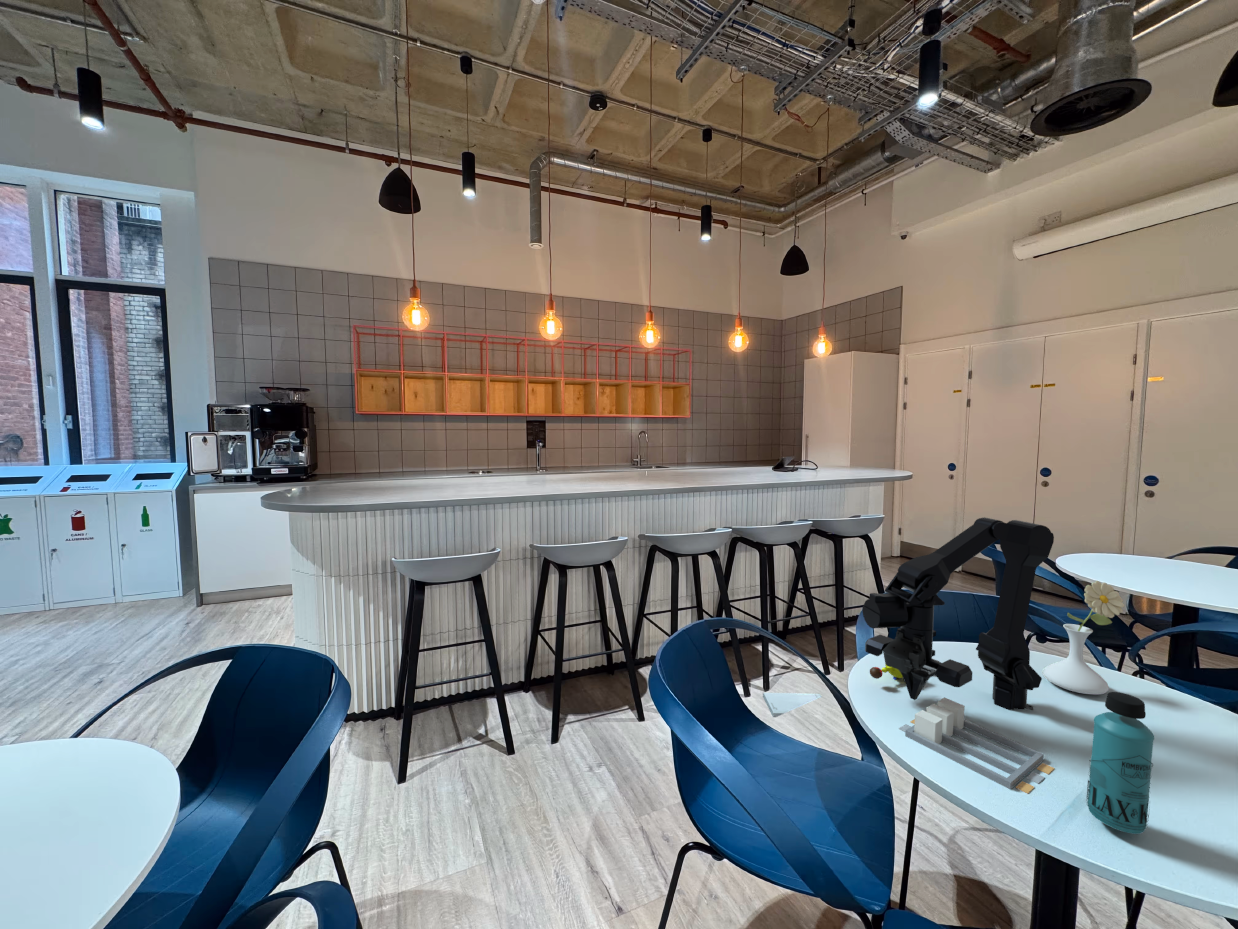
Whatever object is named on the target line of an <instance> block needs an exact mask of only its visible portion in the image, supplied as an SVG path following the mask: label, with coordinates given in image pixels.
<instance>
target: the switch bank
mask: <svg viewBox="0 0 1238 929" xmlns="http://www.w3.org/2000/svg"><path fill="white" fill-rule="evenodd" d="M909 723H911V724H913V725H912V726H911V725H909V724H906V723H905V724H904V725H902V726H900V727H898V730H899V731H901V732H904V734H905V737H906V738H908V739H910V740H912V741H913V742H915V743H918V744H920V745H922V746H924V747H926V748H928V749H930V750H932V751H933V752H936V753H937V754H939V755H941V756H943V757H945V758H947V759H950V760H952V761H954V762H955V763H957V764H960V765H961V766H963V767H965V768H967V769H969V770H971V771H973V772H975V773H976V774H979V775H981V776H983V777H984V778H987V779H988V780H991V781H993V782H995V783H997V784H998V785H1001V786H1003V787H1005V788H1006V789H1008V790H1011V789H1014V787H1015V789H1017V790H1019V791H1021V792H1023V793H1025V794H1030V793H1031V792H1032V791H1033V790H1034V789H1035V786H1034V785H1032V784H1030V783H1028V782H1025V781H1024V780H1023V779H1024V778H1025V777H1026V779H1027V780H1029V781H1031V782H1033V783H1036V784H1038V785H1039V784H1041V782H1043V780H1044V779H1045V776H1043V775H1040V774H1039V773H1036V772H1034V771H1033V770H1034V769H1036V770H1038V771H1040V772H1042V773H1044V774H1046V775H1049V774H1051V773H1052V772H1053V771H1054V770H1055V767H1053V766H1051V765H1049V764H1047V763H1045V762H1044V757H1045V756H1044V753H1043V752H1040V751H1037V750H1036V749H1033V748H1031V747H1029V746H1026V745H1024V744H1022V743H1019V742H1017V741H1016V740H1012V739H1011V738H1008V737H1006V736H1004V735H1002V734H999V733H997V732H995V731H992V730H990V729H988V728H985V727H983V726H981V725H978V724H976V723H974V722H971V721H970V720H967V719H965V718H964V728H965V729H967V730H970V731H972V732H974V733H976V734H979V735H981V736H983V737H986V738H987V739H990V740H992V741H994V742H996V743H998V744H1001V745H1003V746H1006V747H1008V748H1009V749H1012V750H1014V751H1017V752H1019V753H1021V754H1023V755H1024V756H1025V755H1026V756H1027V757H1029V758H1025V757H1022V756H1020V755H1018V754H1016V753H1014V752H1011V751H1010V750H1007V749H1005V748H1003V747H1001V746H1000V745H999V746H998V745H996V744H994V743H992V742H989V741H988V740H986V739H983V738H981V737H979V736H976V735H974V734H973V733H970V732H968V731H966V730H964V729H959V728H957V727H955V726H953V735H955V736H956V737H959V738H961V739H963V740H966V742H967V741H968V742H970V743H972V744H974V745H976V746H978V747H980V748H983V749H985V750H987V751H989V752H991V753H994V754H995V755H998V756H1000V757H1001V758H1003V759H1006V760H1009V761H1010V762H1012V763H1015V764H1017V765H1019V767H1018V768H1017V767H1015V766H1014V765H1012V764H1009V763H1007V762H1004V761H1003V760H1001V759H998V758H996V757H994V756H991V755H990V754H988V753H986V752H984V751H981V750H979V749H977V748H975V747H974V746H970V745H969V744H966V743H964V742H963V741H960V740H959V739H956V738H954V737H952V736H948V735H946V734H944V733H942V742H943V743H945V744H947V745H949V746H951V747H953V748H956V749H957V750H959V751H961V752H963V753H966V754H967V755H970V756H971V757H973V758H976V759H977V760H979V761H982V762H984V763H986V764H988V765H990V766H992V767H994V768H996V769H998V770H1000V771H1002V772H1003V773H1006V774H1008V776H1007V777H1006V776H1003V775H1002V774H1000V773H998V772H995V771H994V770H992V769H989V768H987V767H986V766H983V765H982V764H979V763H978V762H976V761H974V760H971V759H969V758H967V757H966V756H963V755H962V754H960V753H957V752H956V751H953V750H952V749H949V748H947V747H945V746H943V745H942V744H940V743H939V744H937V743H935V742H933V741H931V740H929V739H927V738H925V737H923V736H921V735H919V734H917V733H915V732H914V726H915V718H914V719H913V720H910V722H909ZM1037 766H1038V767H1037ZM1029 773H1030V774H1029ZM1027 775H1028V776H1027Z"/></svg>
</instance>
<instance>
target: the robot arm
mask: <svg viewBox="0 0 1238 929" xmlns="http://www.w3.org/2000/svg"><path fill="white" fill-rule="evenodd" d="M1054 539H1055V535H1054V533H1053V532H1052V531H1051V530H1050V528H1048V526H1045V525H1042V524H1038V523H1034V522H1027V521H1023V520H1017V519H1013V520H1009V521H1007V522H1004V521H1003V520H1000V519H995V518H990V517H985V516H984V517H980V518H976V520H975V521H974V522H973V524H971V525H970V526H969V527H967V528H966V529H964V530H963V531H962V532H961V533H958V535H956V536H955V537H952V539H950V540H949V541H948V542H946V543H945V544H944V545H942V546H941V547H938V548H937V549H936V550H935V551H933V552H931V553H929V554H925V555H920V556H915V557H913V558H912V559H910V560H907V561H906V562H903V563H902V564H901V565H900V566H898V568H897V572H896V574H895V575H894V577H892V579H891V580H890V582H889V583H888V584H887V586H886V587H885V589H884V592H885V593H877V592H870V594H869V598H868V599H866V600H865V601H864V604H863V606H862V616H863V620H864V621H865V624H867V626H868V627H869V628H871V629H887V628H888V629H890V628H897V629H896V630H897V631H896V632H895V638H891V637H889V636H886V635H882V634H877V635H874V636H873V637H870V638H868V639H867V640H866V642H865V647H864V651H865V652H866V653H867V654H870V655H873V656H875V657H879V656H881V655H883V658H884V665H885V664H886V665H887V666H889V667H893V668H896V669H898V670H899V671H900V672H901V674H902V676H903V678H902V679H903V681H904V683H905V687H906V689H907V693H908V694H909V698H910V699H912V700H913V701H916V700H917V699H918V698H919V696H920V695H921V693H922V691H923V690H924V688H925V686H926V684H927V682H928V681H929V680H930V679H931V678H933V677H934V676H936V678H937V679H938V680H939V682H941V683H943V684H946V685H949V686H951V687H954V688H960V687H963V686H965V685H966V684H969V683H970V682H972V681H973V671H972V669H971V668H970V666H969V665H967V664H965V663H961V662H959V661H956V660H953V659H951V658H950V659H948V660H946V661H944V662H941V661H940V660H937V659H935V658H933V657H935V656H936V650H934V649H933V640H934V639H933V638H935V637H937V631H936V630H934V620H935V619H934V618H935V617H934V615H935V614H934V613H935V611H934V610H935V606H944V605H946V602H945V601H944V600H942V598H940V597H939V595H938V594H939V593H940V592H941V590H942V589H943V588H945V586H946V585H947V584H948V583H949V580H950V577H951V575H952V574H953V573H954V572H955V571H956V570H957V569H959V568H960V567H961V566H963V565H964V564H966V563H967V562H968V561H971V560H972V559H974V557H976V556H977V555H979V554H980V553H981V552H983V551H984V550H986V549H987V548H988V547H990V546H991V545H993V544H994V543H995V542H997V541H999V547H1000V550H1001V552H1002V555H1003V558H1004V560H1005V566H1004V569H1003V570H1004V571H1003V577H1002V582H1001V587H1000V592H999V598H998V603H997V609H996V614H995V619H994V622H993V627H992V628H991V629H989V630H988V631H987V632H986V633H985V632H980V633H979V634H978V644H977V646H976V647H975V651H977V657H978V659H979V660H980V662H981V664H982V667H983V670H985V671H987V672H989V673H991V674H992V675H993V678H992V700H993V704H994V706H995V705H996V706H997V707H1000V708H1003V709H1005V710H1008V711H1011V710H1012V711H1013V710H1025V709H1027V710H1030V711H1033V710H1034V706H1033V705H1031V704H1028V703H1027V702H1028V690H1029V691H1034V689H1037V688H1040V684H1041V683H1042V680H1043V678H1042V676H1041V675H1040V674H1039V673H1038V672H1037V671H1036V670H1035V669H1034V668H1033V667H1032V666H1031V665H1030V660H1031V656H1030V654H1031V652H1030V649H1029V646H1028V644H1027V641H1026V640H1025V636H1024V634H1025V628H1026V623H1027V618H1028V612H1029V609H1030V608H1029V606H1030V603H1031V602H1030V601H1031V597H1032V592H1033V586H1034V582H1035V576H1036V571H1037V568H1038V567H1039V566H1040V565H1041V564H1042V563H1044V561H1045V560H1047V559H1048V558H1049V557H1050V553H1051V551H1052V548H1053V545H1054V541H1055V540H1054ZM903 588H904V589H907V590H909V591H910V592H909V591H907V590H904V589H903ZM911 592H913V593H911Z"/></svg>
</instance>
